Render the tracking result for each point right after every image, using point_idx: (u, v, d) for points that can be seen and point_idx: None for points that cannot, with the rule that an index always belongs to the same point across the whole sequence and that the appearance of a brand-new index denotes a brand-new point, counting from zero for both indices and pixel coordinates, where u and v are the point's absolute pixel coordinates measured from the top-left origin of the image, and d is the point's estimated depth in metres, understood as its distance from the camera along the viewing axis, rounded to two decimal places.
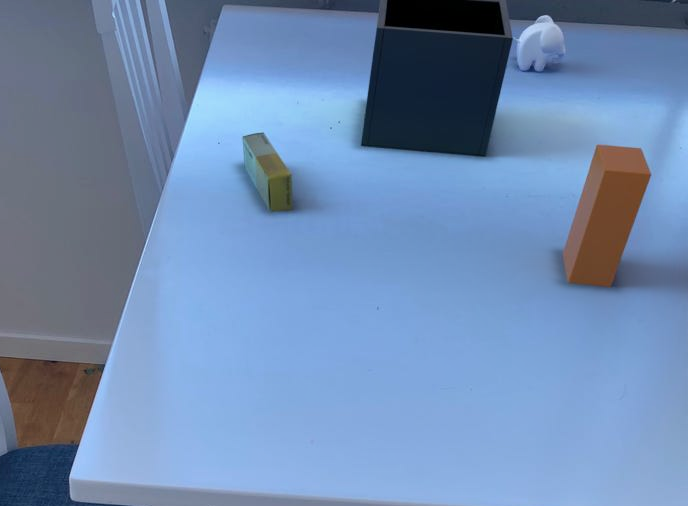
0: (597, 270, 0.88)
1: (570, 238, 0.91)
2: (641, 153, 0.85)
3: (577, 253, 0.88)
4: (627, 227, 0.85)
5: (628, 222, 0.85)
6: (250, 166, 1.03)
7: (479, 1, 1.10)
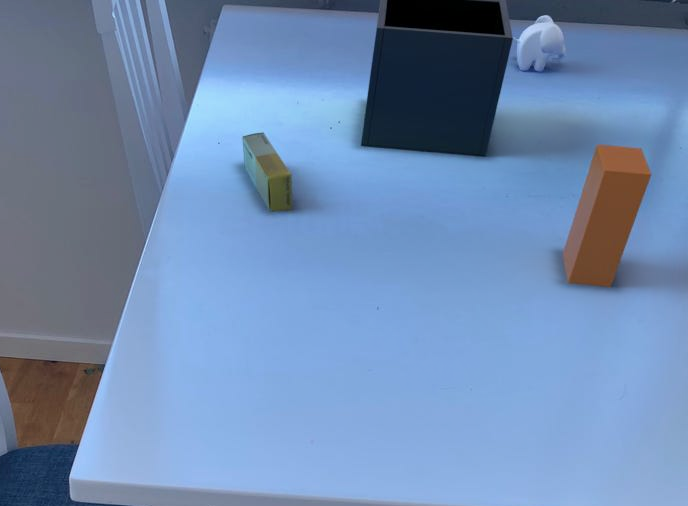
0: (597, 270, 0.88)
1: (570, 238, 0.91)
2: (641, 153, 0.85)
3: (577, 253, 0.88)
4: (627, 227, 0.85)
5: (628, 222, 0.85)
6: (250, 166, 1.03)
7: (479, 1, 1.10)
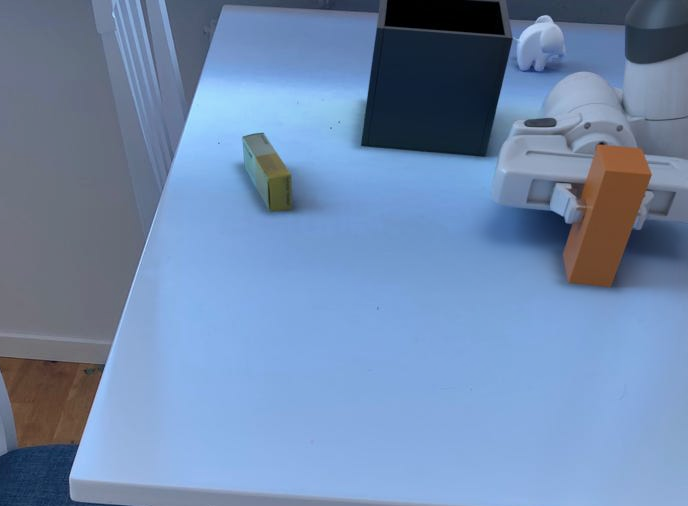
0: (597, 270, 0.88)
1: (570, 238, 0.91)
2: (642, 153, 0.85)
3: (577, 253, 0.88)
4: (627, 227, 0.85)
5: (628, 222, 0.85)
6: (250, 166, 1.03)
7: (479, 1, 1.10)
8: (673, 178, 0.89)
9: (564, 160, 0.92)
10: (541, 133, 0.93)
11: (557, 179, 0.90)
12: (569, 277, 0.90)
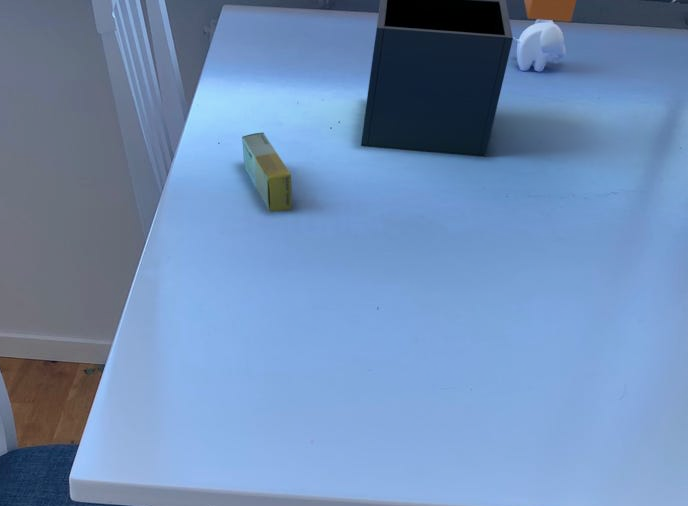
0: None
1: None
2: None
3: None
4: None
5: None
6: (250, 166, 1.03)
7: (479, 1, 1.10)
8: None
9: None
10: None
11: None
12: (530, 5, 0.88)
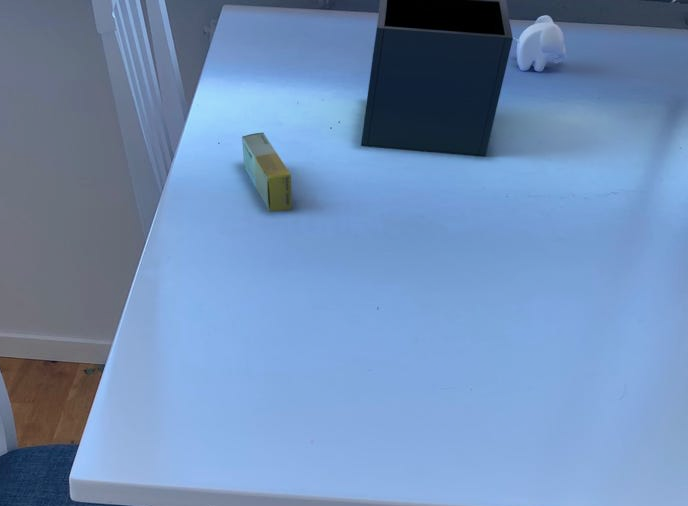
0: None
1: None
2: None
3: None
4: None
5: None
6: (250, 166, 1.03)
7: (479, 1, 1.10)
8: None
9: None
10: None
11: None
12: None
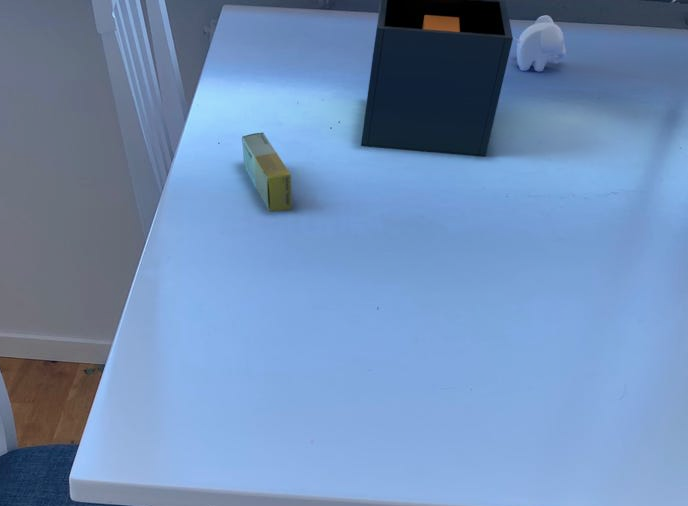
0: None
1: None
2: (457, 20, 1.08)
3: None
4: None
5: None
6: (250, 166, 1.03)
7: (479, 1, 1.10)
8: None
9: None
10: None
11: None
12: None
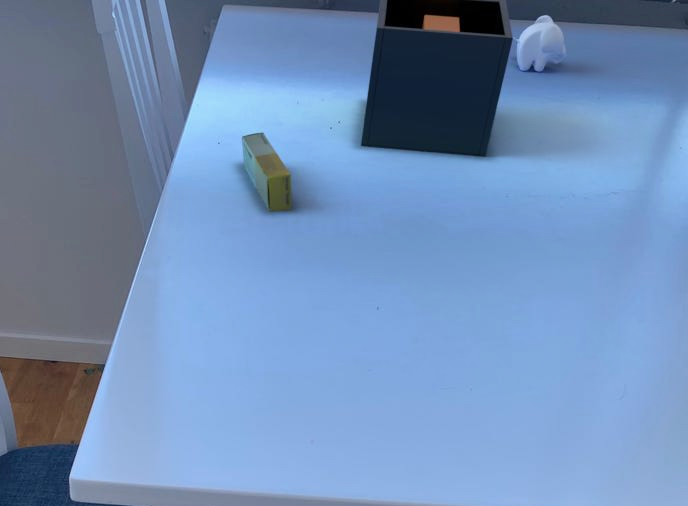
0: None
1: None
2: (457, 20, 1.08)
3: None
4: None
5: None
6: (249, 166, 1.03)
7: (479, 1, 1.10)
8: None
9: None
10: None
11: None
12: None
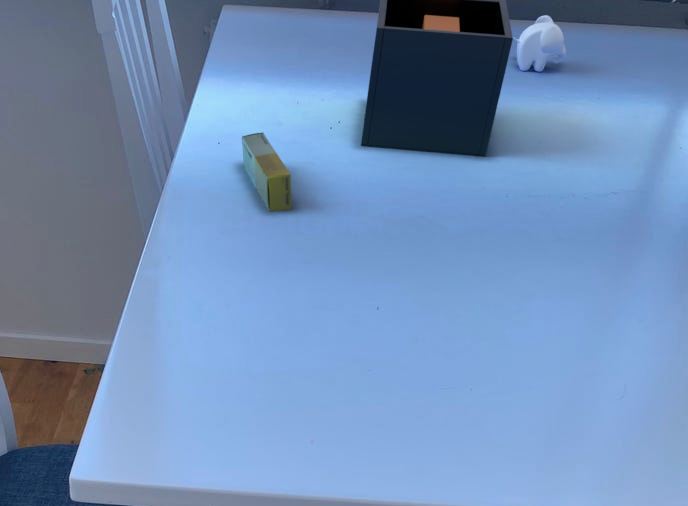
0: None
1: None
2: (457, 20, 1.08)
3: None
4: None
5: None
6: (249, 166, 1.03)
7: (479, 1, 1.10)
8: None
9: None
10: None
11: None
12: None
